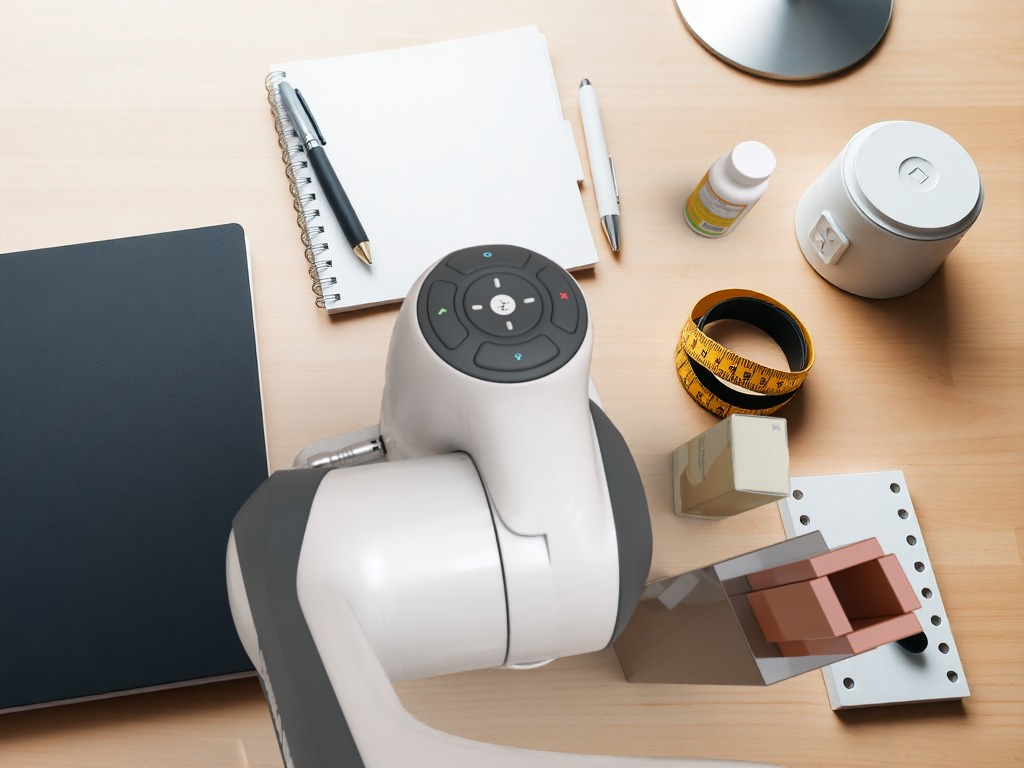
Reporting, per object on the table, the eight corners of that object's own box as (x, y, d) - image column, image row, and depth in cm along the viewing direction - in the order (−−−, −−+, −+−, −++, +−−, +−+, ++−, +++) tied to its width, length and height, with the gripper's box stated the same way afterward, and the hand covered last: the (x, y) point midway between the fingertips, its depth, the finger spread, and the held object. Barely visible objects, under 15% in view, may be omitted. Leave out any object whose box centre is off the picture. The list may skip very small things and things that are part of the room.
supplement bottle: (718, 185, 85) (763, 125, 75) (746, 227, 83) (796, 172, 74) (672, 203, 84) (712, 145, 75) (700, 246, 82) (744, 192, 73)
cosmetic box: (671, 449, 75) (730, 408, 64) (719, 454, 75) (787, 414, 64) (673, 519, 73) (734, 490, 62) (723, 524, 73) (793, 496, 62)
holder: (705, 657, 69) (965, 643, 40) (628, 683, 69) (836, 688, 39) (670, 575, 72) (893, 506, 42) (595, 600, 71) (769, 546, 42)
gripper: (297, 524, 46) (309, 559, 59) (636, 423, 48) (575, 478, 61) (268, 420, 48) (285, 476, 61) (595, 327, 50) (544, 400, 63)
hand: (432, 476), depth 61 cm, fingers closed
